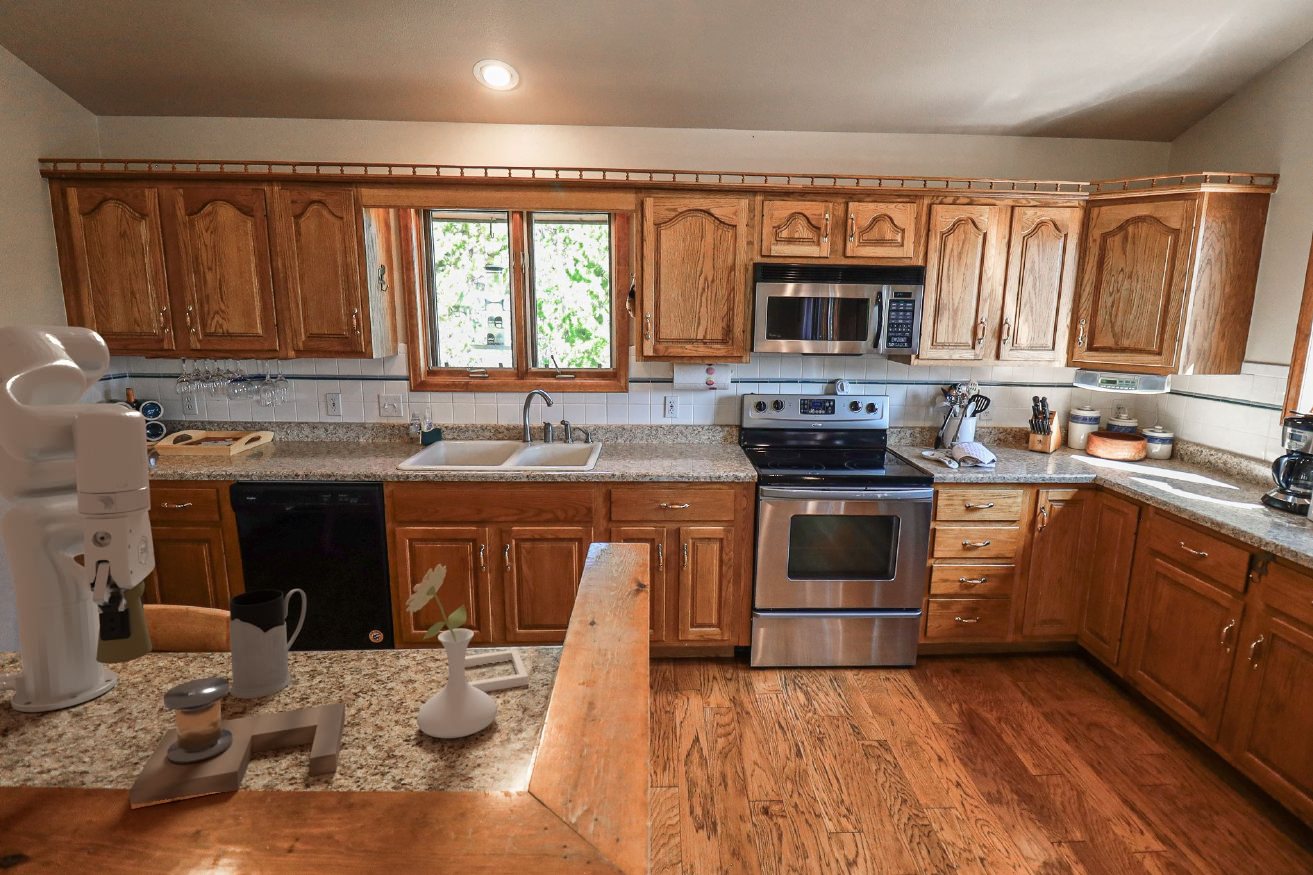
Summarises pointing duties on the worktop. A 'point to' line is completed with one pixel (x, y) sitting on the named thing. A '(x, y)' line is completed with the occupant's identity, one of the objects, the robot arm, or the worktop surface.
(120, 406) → the robot arm
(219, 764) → the notched board
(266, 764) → the worktop surface
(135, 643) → the cork
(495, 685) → the rectangular frame
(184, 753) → the bobbin
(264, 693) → the glass holder
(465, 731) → the flower in vase
